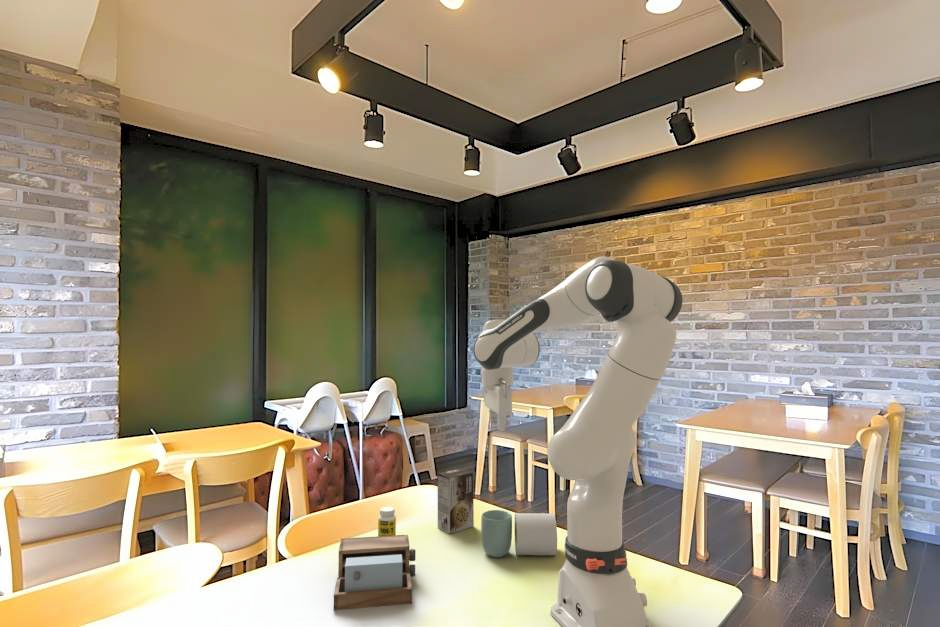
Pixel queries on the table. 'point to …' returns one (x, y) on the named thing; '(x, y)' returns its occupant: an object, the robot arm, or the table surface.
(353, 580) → the door
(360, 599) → the cabinet
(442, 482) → the coffee box
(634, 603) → the robot arm
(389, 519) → the supplement bottle
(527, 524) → the toilet paper
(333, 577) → the table surface
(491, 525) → the cup
